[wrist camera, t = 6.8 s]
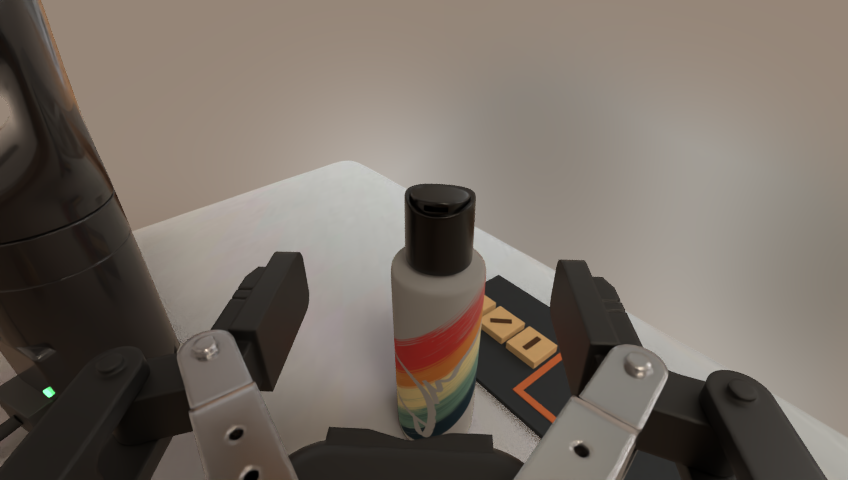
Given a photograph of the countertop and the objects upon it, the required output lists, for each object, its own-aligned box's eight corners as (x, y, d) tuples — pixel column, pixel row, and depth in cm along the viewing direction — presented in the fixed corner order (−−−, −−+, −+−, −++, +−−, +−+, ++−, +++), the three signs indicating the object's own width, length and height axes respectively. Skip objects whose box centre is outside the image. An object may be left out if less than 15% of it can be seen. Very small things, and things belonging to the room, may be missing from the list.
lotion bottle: (390, 445, 33) (373, 210, 22) (407, 383, 38) (399, 163, 27) (467, 459, 32) (490, 222, 21) (474, 393, 37) (496, 170, 26)
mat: (729, 426, 34) (736, 415, 34) (649, 534, 28) (655, 524, 27) (498, 277, 50) (499, 268, 49) (413, 325, 44) (413, 315, 43)
